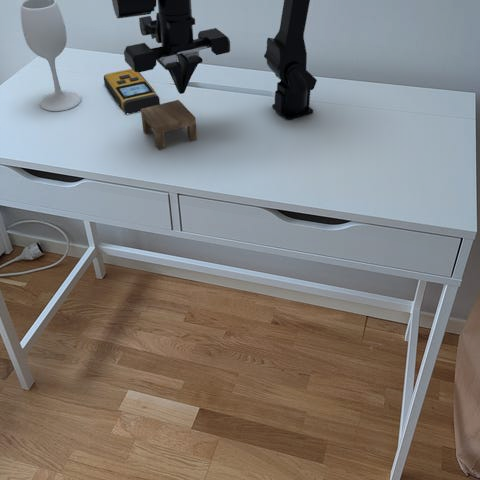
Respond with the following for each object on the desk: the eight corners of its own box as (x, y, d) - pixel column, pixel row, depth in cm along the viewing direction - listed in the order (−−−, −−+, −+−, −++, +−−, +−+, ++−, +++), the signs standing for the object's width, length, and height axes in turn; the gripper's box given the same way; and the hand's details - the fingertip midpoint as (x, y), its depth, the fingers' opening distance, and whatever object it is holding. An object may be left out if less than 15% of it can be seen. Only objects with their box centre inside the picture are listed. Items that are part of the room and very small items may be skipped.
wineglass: (87, 94, 129) (69, -3, 115) (69, 113, 123) (47, 12, 109) (52, 90, 131) (29, -7, 117) (32, 109, 125) (6, 8, 111)
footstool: (178, 99, 117) (140, 109, 114) (195, 117, 112) (156, 127, 109) (180, 121, 120) (143, 131, 118) (196, 139, 115) (158, 150, 112)
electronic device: (138, 79, 136) (136, 65, 134) (162, 108, 126) (160, 93, 123) (103, 86, 134) (100, 72, 131) (124, 116, 123) (122, 101, 121)
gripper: (203, -13, 110) (207, 66, 121) (108, 4, 104) (120, 86, 114) (231, 6, 103) (232, 88, 113) (130, 25, 96) (140, 111, 107)
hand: (181, 92), depth 112 cm, fingers closed
